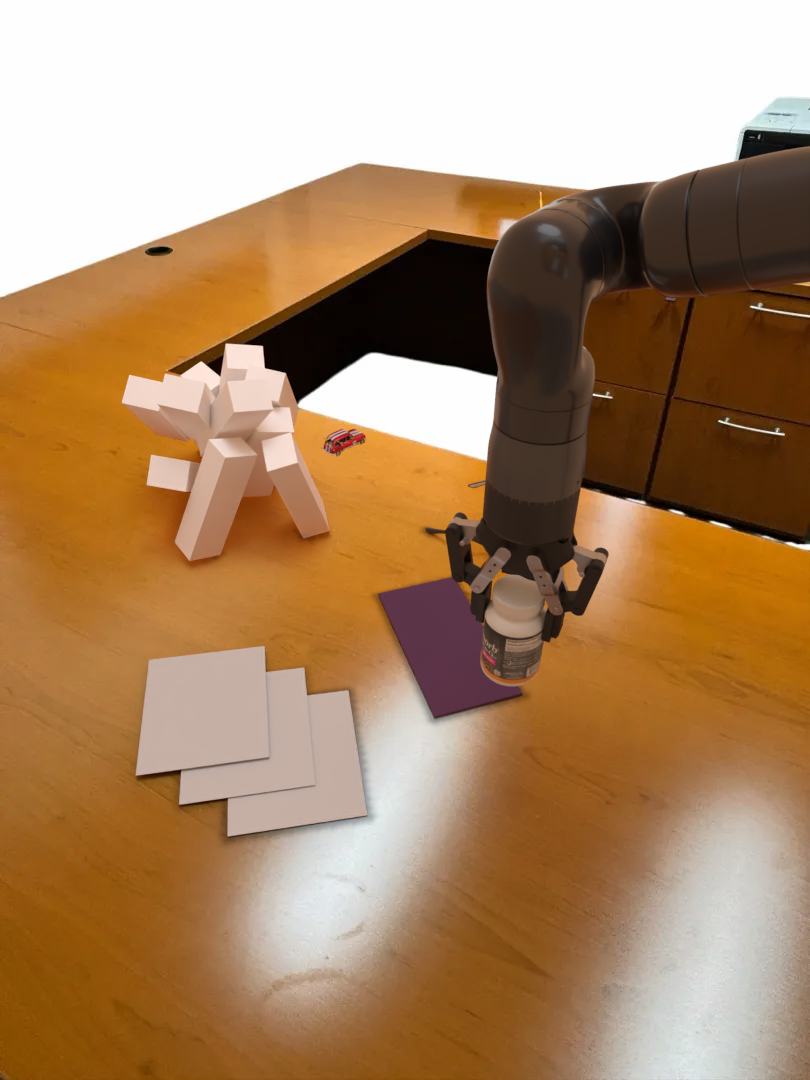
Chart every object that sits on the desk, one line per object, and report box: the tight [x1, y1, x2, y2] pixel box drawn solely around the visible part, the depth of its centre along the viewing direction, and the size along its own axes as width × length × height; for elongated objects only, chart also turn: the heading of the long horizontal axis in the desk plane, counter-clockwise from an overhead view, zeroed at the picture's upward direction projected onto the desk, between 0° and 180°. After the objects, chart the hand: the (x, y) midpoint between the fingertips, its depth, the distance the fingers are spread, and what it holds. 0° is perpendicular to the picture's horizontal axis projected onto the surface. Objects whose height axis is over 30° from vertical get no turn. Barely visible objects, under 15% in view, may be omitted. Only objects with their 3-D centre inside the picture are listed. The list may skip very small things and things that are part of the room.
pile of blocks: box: [121, 343, 331, 562], centre depth 112 cm, size 35×30×35 cm
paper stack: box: [135, 645, 368, 837], centre depth 86 cm, size 23×25×1 cm
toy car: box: [322, 428, 367, 457], centre depth 134 cm, size 4×8×3 cm, turn 133°
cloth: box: [377, 576, 523, 719], centre depth 98 cm, size 22×11×1 cm, turn 19°
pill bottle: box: [480, 574, 547, 687], centre depth 72 cm, size 6×6×10 cm
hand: (515, 625), depth 71 cm, fingers closed on pill bottle, 5 cm apart
